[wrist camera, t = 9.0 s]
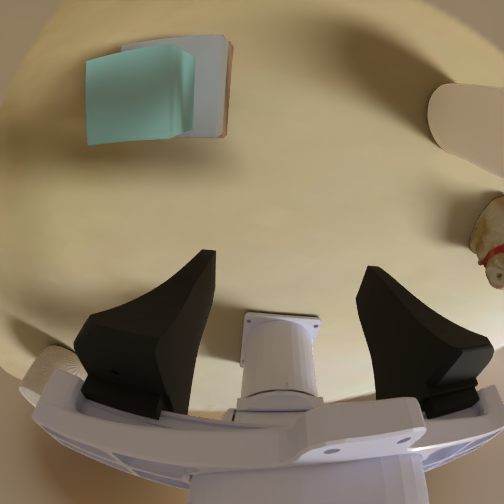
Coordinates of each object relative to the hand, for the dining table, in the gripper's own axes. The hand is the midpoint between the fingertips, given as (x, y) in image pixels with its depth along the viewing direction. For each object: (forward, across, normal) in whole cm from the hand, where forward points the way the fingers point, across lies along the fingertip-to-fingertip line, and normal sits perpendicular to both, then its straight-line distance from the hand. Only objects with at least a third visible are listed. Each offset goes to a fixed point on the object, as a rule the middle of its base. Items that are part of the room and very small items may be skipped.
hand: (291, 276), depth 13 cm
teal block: (+6, +8, -8) cm, 13 cm away
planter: (+11, +31, +31) cm, 45 cm away
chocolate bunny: (+11, -23, -1) cm, 25 cm away
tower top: (+8, +8, -8) cm, 14 cm away
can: (+11, -14, -10) cm, 20 cm away
